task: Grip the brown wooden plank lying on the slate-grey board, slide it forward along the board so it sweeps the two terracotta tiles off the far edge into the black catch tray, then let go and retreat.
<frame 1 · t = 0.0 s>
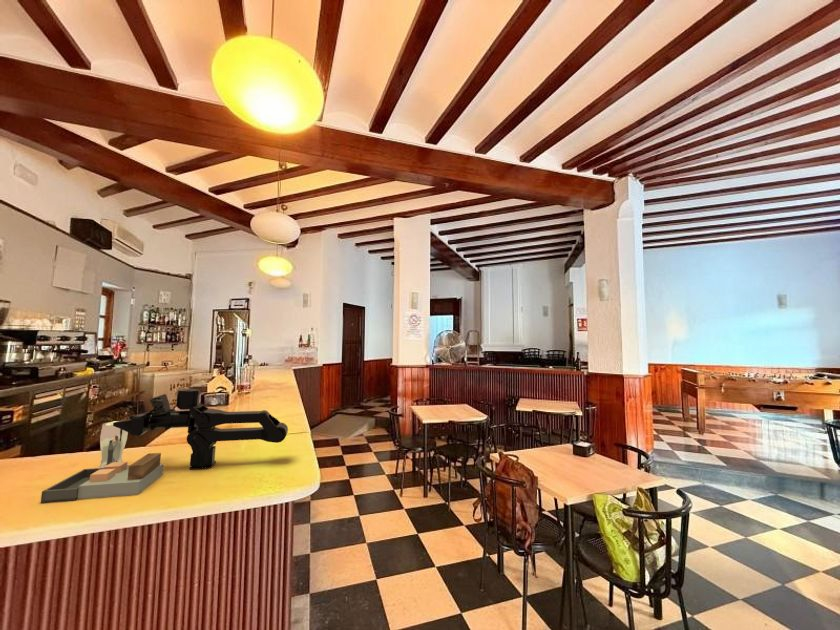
hand: (121, 420, 112), 17 cm above the bar counter, tool horizontal, fingers open, 9 cm apart
tile a: (115, 470, 102), point 3 cm above the bar counter, touching board
board: (123, 485, 100), on the bar counter
tile b: (102, 478, 97), point 3 cm above the bar counter, touching board
brown wooden plank: (144, 472, 102), point 3 cm above the bar counter, touching board
tray: (81, 488, 98), on the bar counter
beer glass: (110, 468, 113), on the bar counter
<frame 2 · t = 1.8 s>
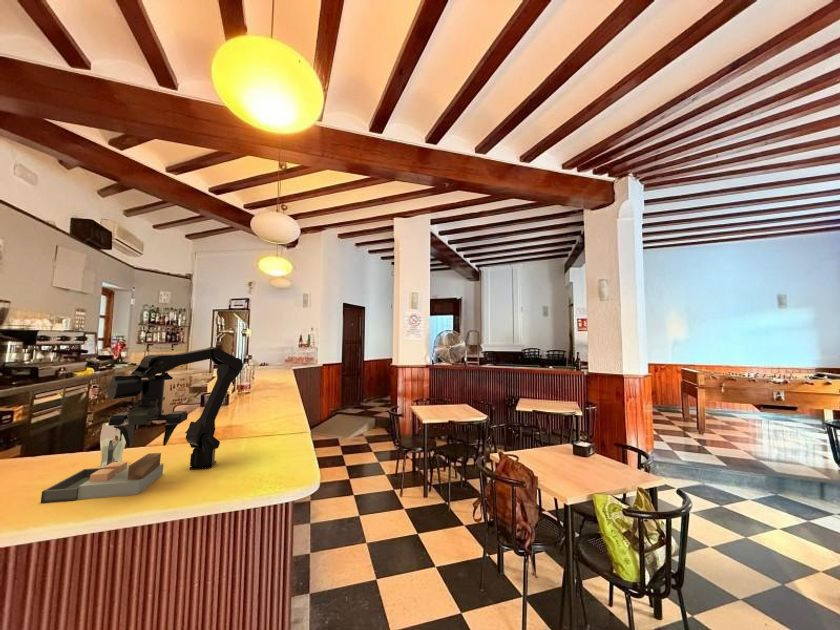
hand: (147, 446, 103), 11 cm above the bar counter, tool pointing down, fingers open, 9 cm apart
nothing on the bar counter moved.
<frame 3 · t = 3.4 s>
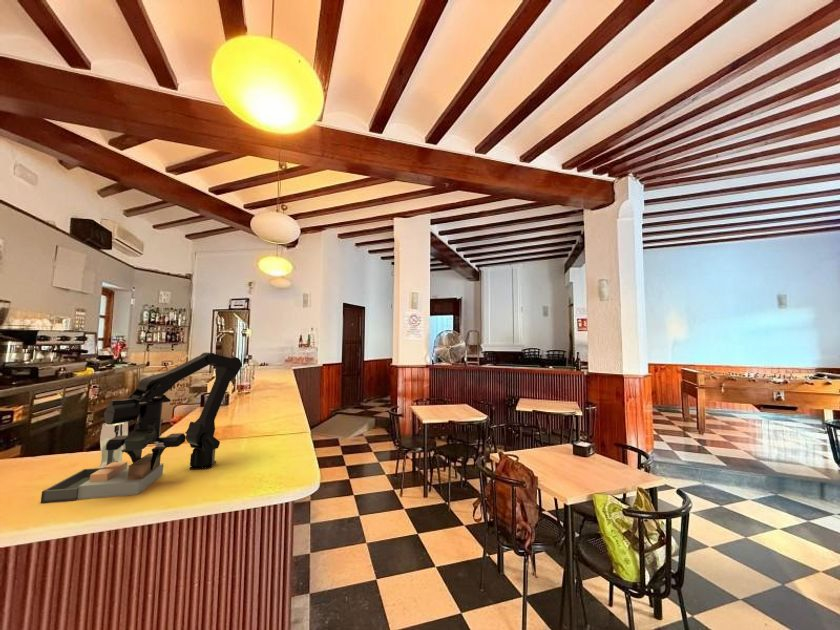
hand: (144, 470, 102), 4 cm above the bar counter, tool pointing down, fingers closed on brown wooden plank, 3 cm apart
brown wooden plank: (144, 472, 102), point 3 cm above the bar counter, touching board, gripper
everything else where it was.
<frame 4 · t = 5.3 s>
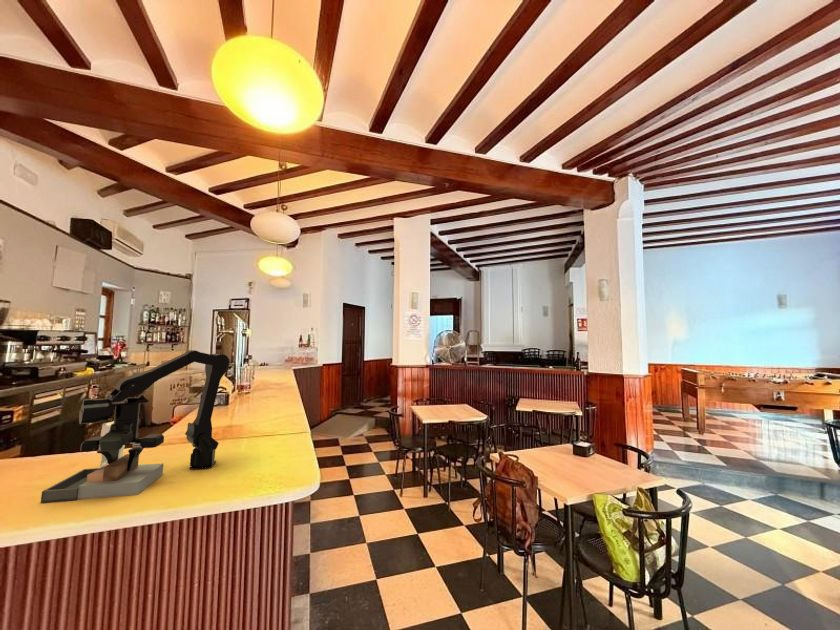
hand: (121, 471, 100), 4 cm above the bar counter, tool pointing down, fingers closed on brown wooden plank, 3 cm apart
tile a: (112, 471, 102), point 4 cm above the bar counter
tile b: (99, 478, 96), point 3 cm above the bar counter, touching board, brown wooden plank
brown wooden plank: (121, 473, 100), point 4 cm above the bar counter, touching gripper, tile b
everything else where it was.
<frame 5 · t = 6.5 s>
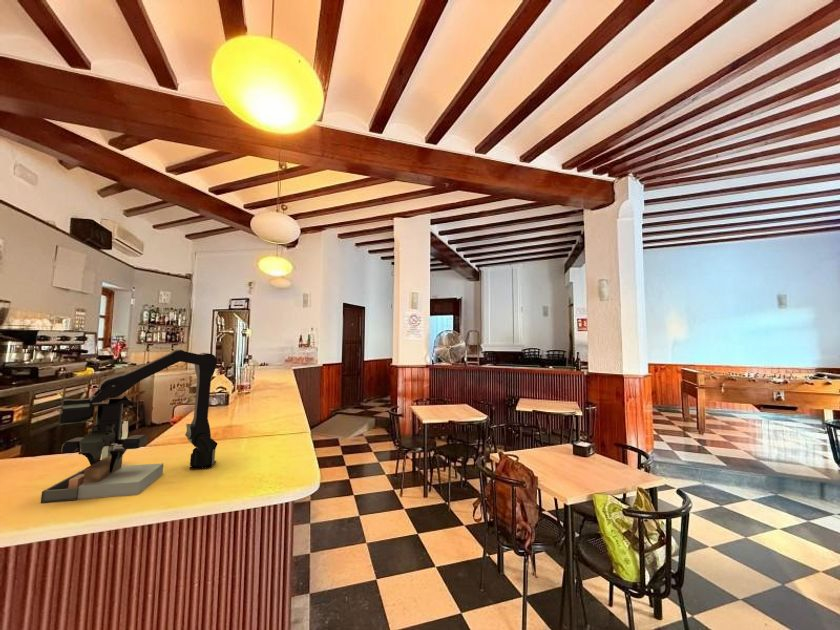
hand: (103, 472, 99), 4 cm above the bar counter, tool pointing down, fingers closed on brown wooden plank, 3 cm apart
tile a: (96, 474, 101), point 3 cm above the bar counter, tilted 90°, touching tray
tile b: (82, 483, 95), point 3 cm above the bar counter, tilted 90°, touching tray
brown wooden plank: (103, 475, 99), point 4 cm above the bar counter, touching board, gripper
everything else where it was.
when the fingers open (4 cm above the bar counter, at t = 7.8 s): brown wooden plank stays where it is, resting on board.
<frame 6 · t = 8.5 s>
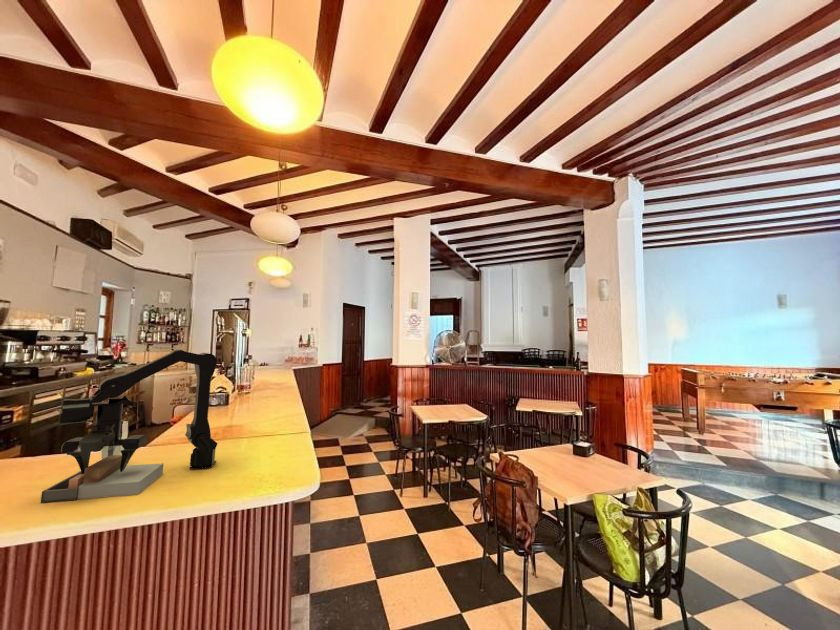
hand: (103, 472, 99), 4 cm above the bar counter, tool pointing down, fingers open, 9 cm apart
brown wooden plank: (103, 475, 99), point 3 cm above the bar counter, touching board
everything else where it was.
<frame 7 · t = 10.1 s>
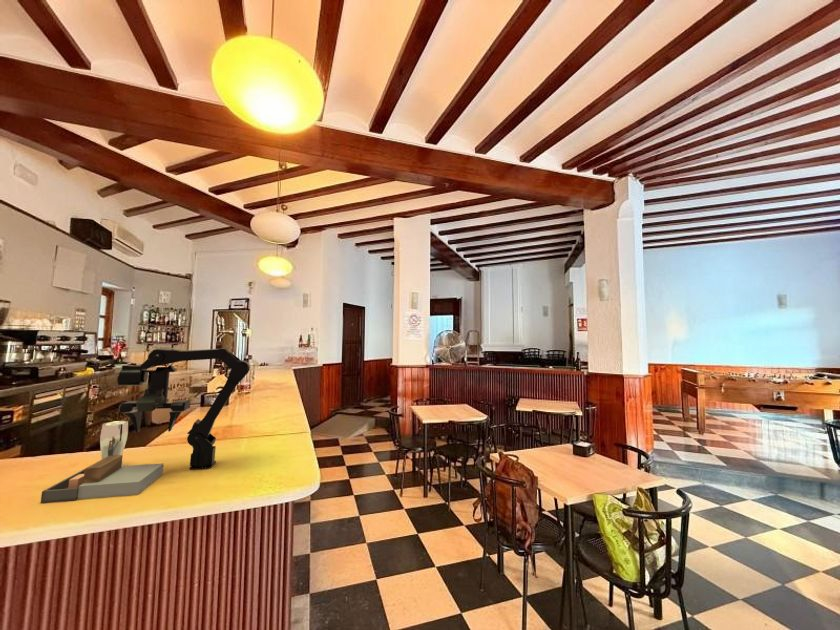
hand: (153, 431, 112), 13 cm above the bar counter, tool pointing down, fingers open, 9 cm apart
nothing on the bar counter moved.
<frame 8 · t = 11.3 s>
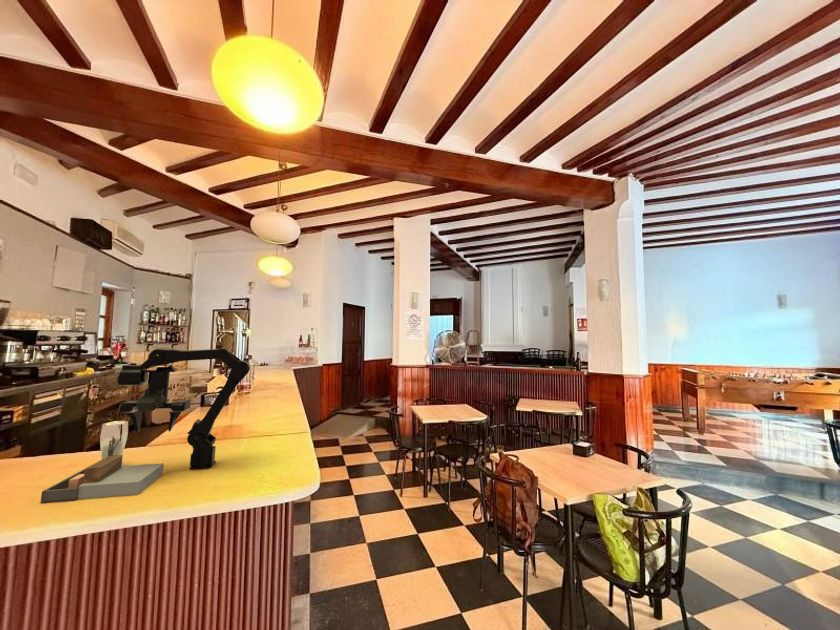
hand: (153, 431, 112), 13 cm above the bar counter, tool pointing down, fingers open, 9 cm apart
nothing on the bar counter moved.
at the end: tile a inside the target area (3.9 cm from its centre), point 2.6 cm above the bar counter; tile b inside the target area (4.0 cm from its centre), point 2.6 cm above the bar counter; brown wooden plank inside the target area (0.9 cm from its centre), point 3.5 cm above the bar counter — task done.
